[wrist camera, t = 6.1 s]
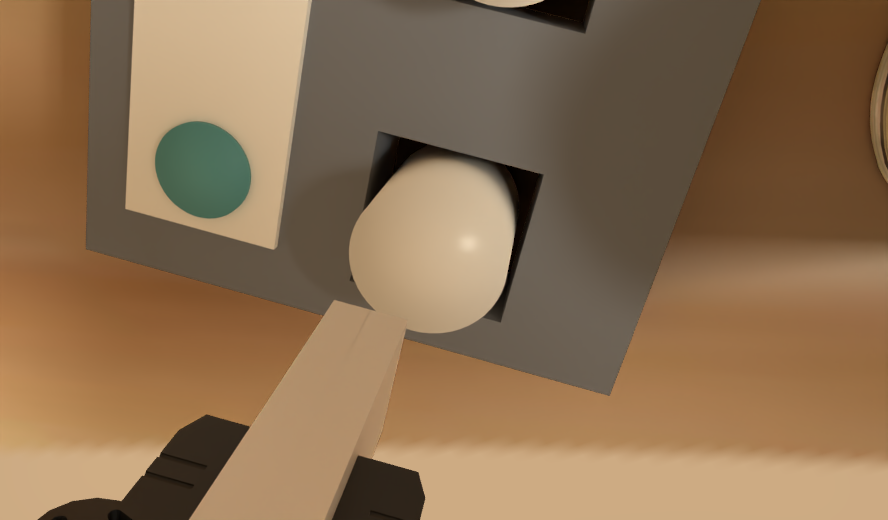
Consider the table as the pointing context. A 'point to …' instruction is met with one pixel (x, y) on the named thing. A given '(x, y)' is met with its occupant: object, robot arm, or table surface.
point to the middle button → (508, 2)
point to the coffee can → (880, 115)
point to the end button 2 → (437, 240)
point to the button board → (417, 118)
